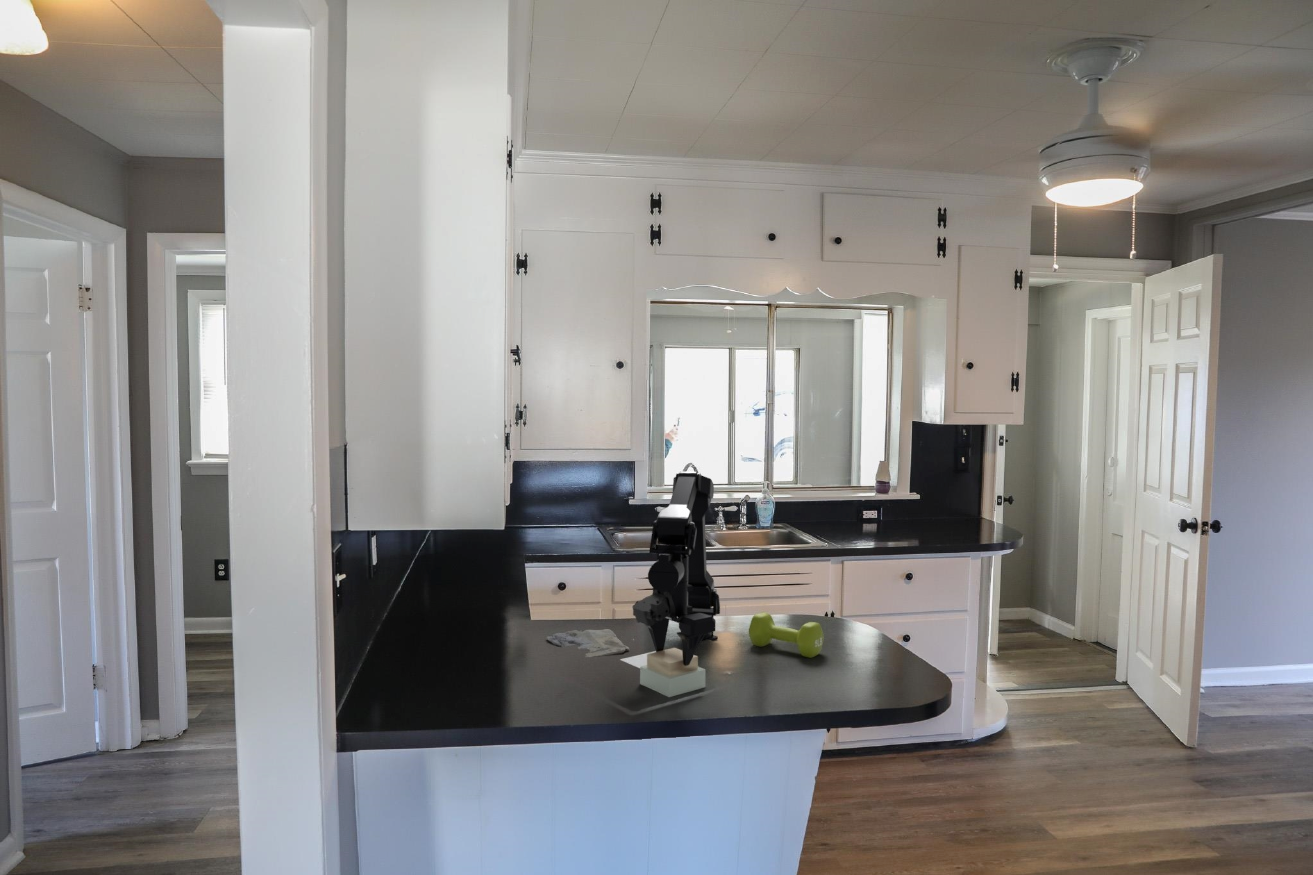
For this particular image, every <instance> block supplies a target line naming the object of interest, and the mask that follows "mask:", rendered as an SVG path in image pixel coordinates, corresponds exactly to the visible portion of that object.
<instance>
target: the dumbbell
mask: <svg viewBox="0 0 1313 875" xmlns="http://www.w3.org/2000/svg"><path fill="white" fill-rule="evenodd" d="M748 636H749V640H750V641H751V644H752V645H753V646H755V647H760V648H761V647H765V646H767V645H769V644H771V642H772V641H773V640H775V641H780V642H786V643H791V644H795V645H796V644H797V648H798V652H799V653H800V655H801V656H802V657H804V658H810V659H811V658H814V657H816V656H818V655H819V654H821V651H822V648H823V643H824V639H825V638H824V637H825V636H824V631H823V629H822V626H821V624H820V623H819V622H815V621H814V622H813V621H809V622H805V623H804V624H803V625H801V627H800V629H799V630H797V629H795V628H790V627H785V626H781V625H780V626H779V625H775V620H774V618H773V617H772V615H771V614H770V613H768V612H759V613H756V614H754V615H753V616H752V618H751V620H750V624H749V626H748Z"/></svg>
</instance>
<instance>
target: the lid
mask: <svg viewBox="0 0 1313 875" xmlns="http://www.w3.org/2000/svg"><path fill="white" fill-rule="evenodd" d="M653 652H654V651H653ZM649 653H650V652H649ZM647 667H648V668H651V669H653V670H656V671H658V672H660V673H663V674H665V675H668V676H674V675H677V674H681V673H685V672H689V671H693V670H696V669H698V667H699V656H698V655H695V654H694V656H693V658H692V660H691V662H690V664H689V665H687V666H684V664H683V653H682V649H679V648H677V647H671V648H668V649H663V651H659V652H654V653H650V654H647Z"/></svg>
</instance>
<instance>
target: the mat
mask: <svg viewBox="0 0 1313 875" xmlns="http://www.w3.org/2000/svg"><path fill="white" fill-rule="evenodd" d="M654 652H656V650H655V651H654V650H653V651H649V652H646V653H642V654H638V655H633V656H629V657H625V658H624V657H623V658H621V659H619V661H622V662H623V663H626V664H629V665H630V666H633V667H636V668H638V669H640V666H644V665H647V654H650V653H654Z"/></svg>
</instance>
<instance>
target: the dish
mask: <svg viewBox="0 0 1313 875" xmlns="http://www.w3.org/2000/svg"><path fill="white" fill-rule="evenodd" d="M639 669H640V670H639V684H640V685H641V686H644V687H646V688H649V689H650V690H653V691H655V692H657V693H658V694H659V693H660V694H661V695H663V696H666V697H667V698H671V697H674V696H678V695H682V694H685V693H689V692H693V691H696V690H701V689H703V688H706V671H707V670H706V669H705V668H704V667H700V666H698V669H696V670H693V671H689V672H685V673H681V674H677V675H674V676H668V675H665V674H663V673H660V672H658V671H656V670H653V669H651V668H648V667H647V665H644V666H640V668H639Z"/></svg>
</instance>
